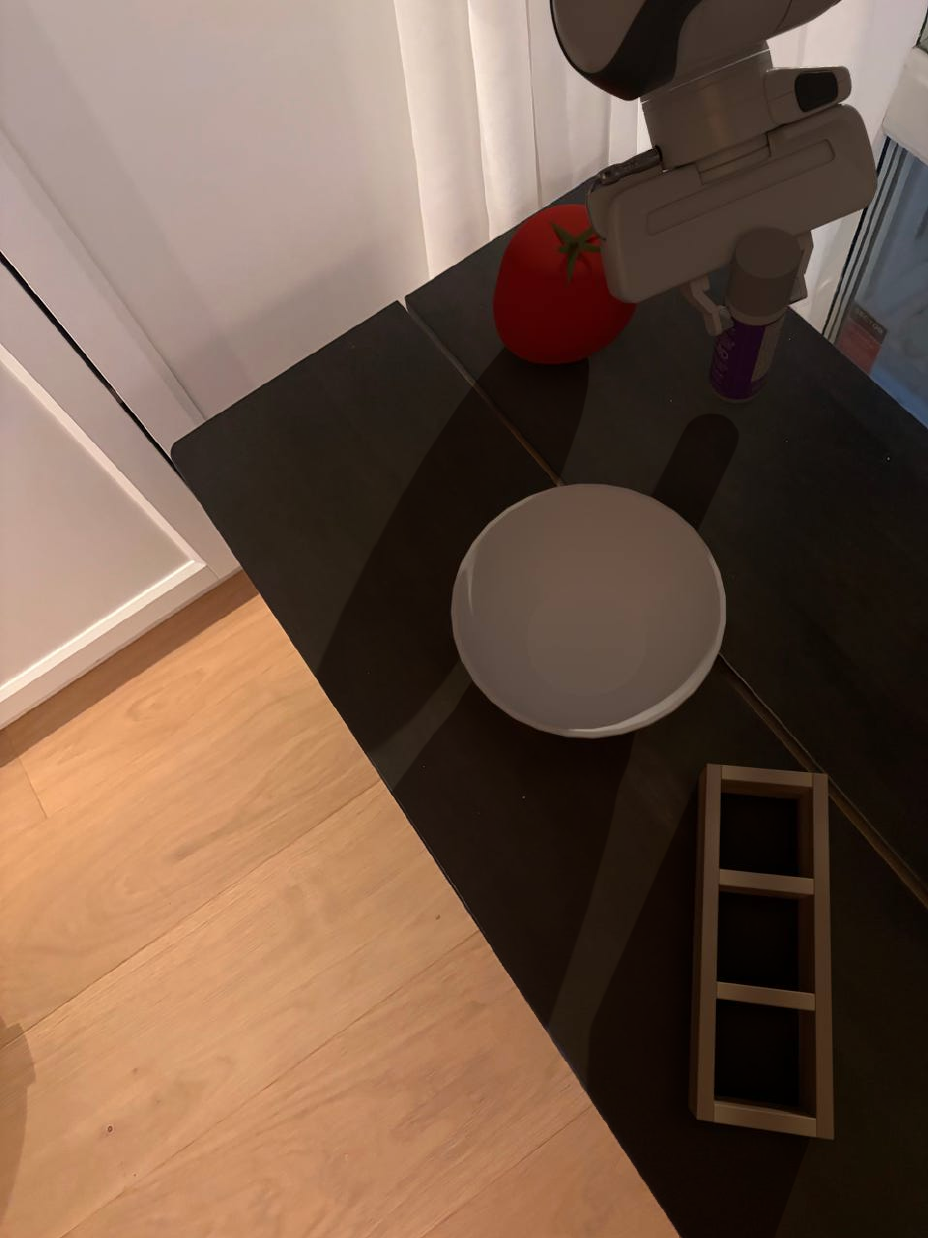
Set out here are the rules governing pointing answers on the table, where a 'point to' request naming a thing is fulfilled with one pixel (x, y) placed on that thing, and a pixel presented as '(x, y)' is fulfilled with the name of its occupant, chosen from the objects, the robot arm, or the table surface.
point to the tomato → (556, 290)
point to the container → (754, 312)
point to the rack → (812, 952)
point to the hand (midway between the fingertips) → (758, 316)
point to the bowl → (588, 611)
